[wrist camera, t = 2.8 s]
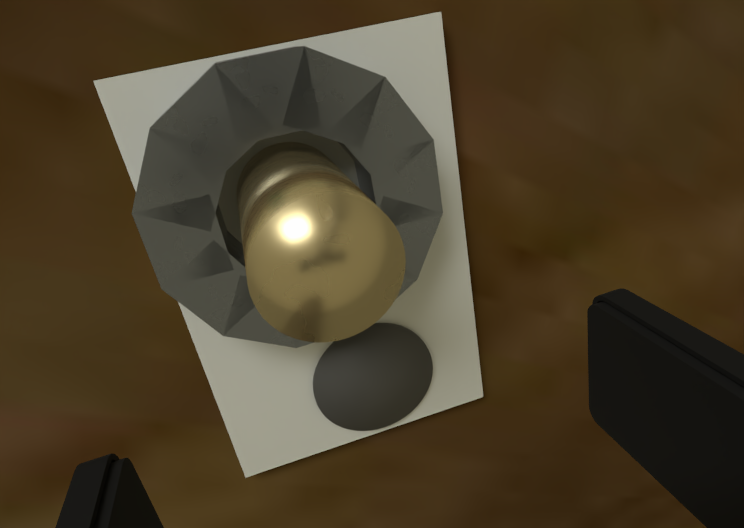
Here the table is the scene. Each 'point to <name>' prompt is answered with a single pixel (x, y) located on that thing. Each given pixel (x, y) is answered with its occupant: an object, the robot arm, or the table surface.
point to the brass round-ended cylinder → (315, 245)
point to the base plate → (385, 337)
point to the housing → (237, 135)
